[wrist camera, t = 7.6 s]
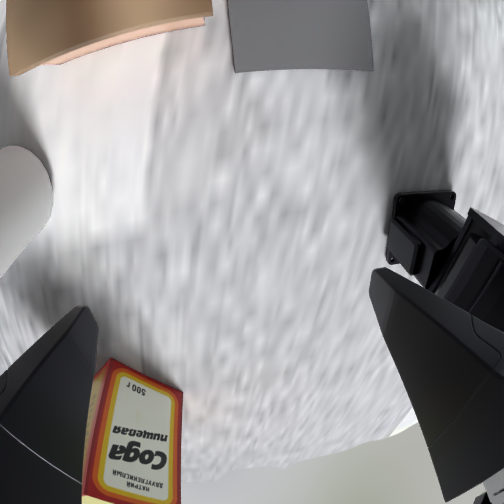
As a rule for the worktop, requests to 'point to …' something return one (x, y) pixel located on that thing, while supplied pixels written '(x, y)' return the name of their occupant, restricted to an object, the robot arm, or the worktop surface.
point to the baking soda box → (132, 439)
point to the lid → (83, 24)
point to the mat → (300, 34)
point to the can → (21, 202)
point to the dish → (127, 39)
